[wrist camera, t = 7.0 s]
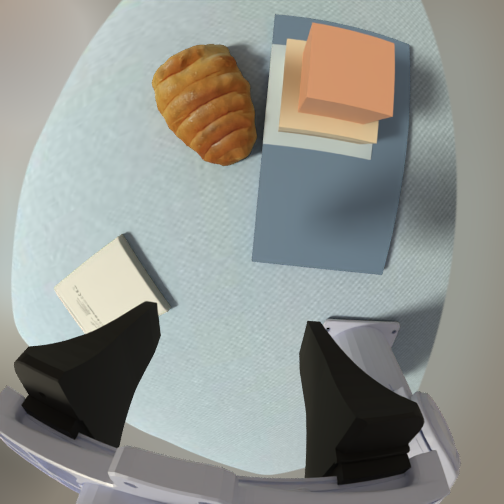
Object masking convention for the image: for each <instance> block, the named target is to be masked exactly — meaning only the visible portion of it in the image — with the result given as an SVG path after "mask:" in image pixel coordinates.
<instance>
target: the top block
mask: <svg viewBox="0 0 504 504" xmlns="http://www.w3.org/2000/svg"><path fill="white" fill-rule="evenodd" d="M394 81H395V45H394V43H392V42H389V41H386V40H383V39H380V38H377V37H373V36H370V35H366V34H363V33H359V32H355V31H351V30H347V29H343V28H339V27H334V26H329V25H324V24H318V23H313V22H312V26H311V29H310V32H309V35H308V39H307V42H306V45H305V49H304V52H303V60H302V72H301V83H300V94H299V104H298V112H299V113H306V114H312V115H318V116H324V117H330V118H335V119H340V120H345V121H350V122H354V123H359V124H366V123H370V122H374V121H377V120H381V119H385V118H389V117H393V104H394Z"/></svg>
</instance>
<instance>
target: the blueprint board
mask: <svg viewBox="0 0 504 504" xmlns="http://www.w3.org/2000/svg"><path fill="white" fill-rule="evenodd" d="M312 22H313V23H318V24H324V25H329V26H334V27H339V28H343V29H347V30H351V31H355V32H359V33H363V34H366V35H370V36H373V37H377V38H380V39H383V40H386V41H389V42H392V43H394V45H395V81H394V104H393V117H389V118H385V119H381V120H379V122H378V134H377V143H375V144H355V143H350V142H345V141H340V140H334V139H328V138H322V137H316V136H309V135H302V134H295V133H286V132H278V129H279V119H280V108H281V97H282V86H283V74H284V62H285V52H286V43H287V39H295V40H303V41H307V39H308V35H309V32H310V29H311V26H312ZM409 111H410V49H409V44H407V43H404V42H401V41H398V40H396V39H393V38H390V37H387V36H384V35H380V34H377V33H374V32H370V31H367V30H363V29H359V28H355V27H351V26H347V25H343V24H338V23H333V22H328V21H323V20H317V19H311V18H304V17H296V16H287V15H276V14H275V20H274V30H273V41H272V51H271V62H270V73H269V83H268V94H267V104H266V115H265V126H264V136H263V148H262V158H261V169H260V179H259V190H258V200H257V211H256V222H255V232H254V243H253V253H252V261H253V262H263V263H272V264H281V265H290V266H300V267H309V268H319V269H328V270H338V271H348V272H358V273H368V274H378V275H382V274H383V270H384V266H385V263H386V259H387V255H388V251H389V247H390V242H391V238H392V234H393V229H394V224H395V220H396V215H397V209H398V204H399V199H400V193H401V187H402V180H403V173H404V166H405V158H406V149H407V139H408V127H409Z"/></svg>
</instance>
